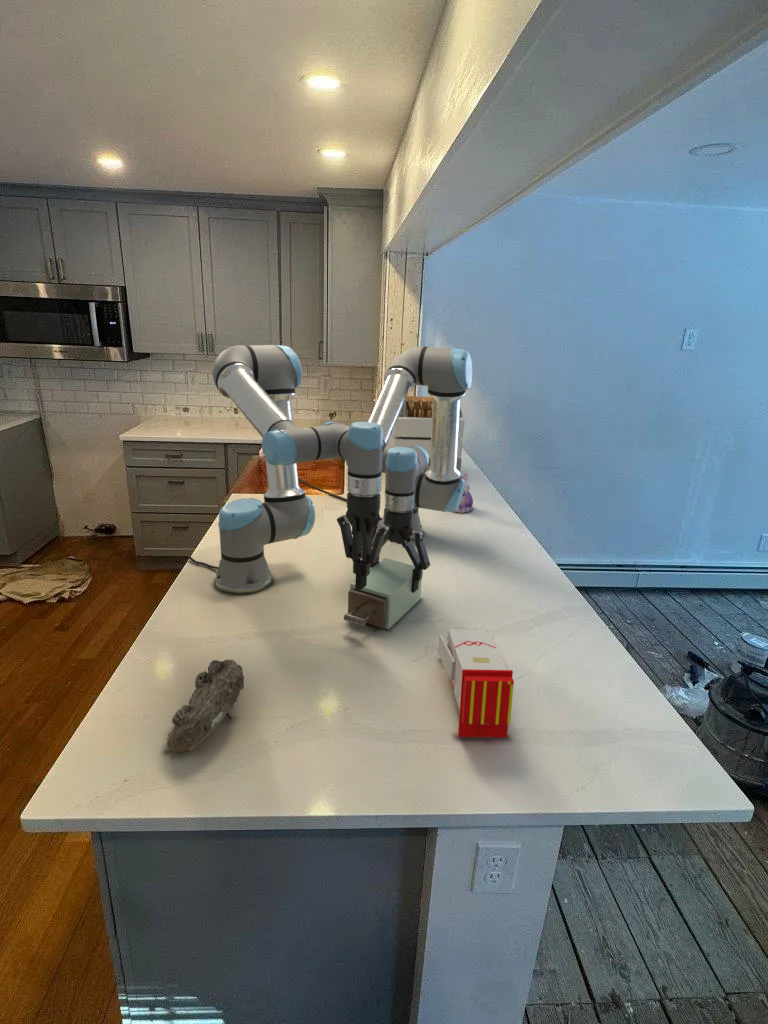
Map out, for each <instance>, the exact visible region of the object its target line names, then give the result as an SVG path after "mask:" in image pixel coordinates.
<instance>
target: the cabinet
mask: <svg viewBox="0 0 768 1024" xmlns="http://www.w3.org/2000/svg"><path fill="white" fill-rule="evenodd" d="M414 568H415V566H414V565H413V564H410V563H406V562H401V561H399V560H393V559H390V558H386V557H384V558H383V559H382V560H379V563H378V564H376V565H375V566H374V567H372V568H370V574H369V575H368V576H367V585H366V586H365V587H364V588H363V589H361V591H365V592H368V593H371V594H375V595H378V596H381V597H385V598H386V600H387V603H386V624H385V627H384V628H383V629H386V630H390V629H391V628H392V627H393V626H394V625H395V624H396V623H397V622H398V621H399V620H401V618H402V617H403V616H404V615H405V614H407V612H408V611H409V610H411V609H412V608H413V607H414V606H415V605H416V604H417V603H418V602H419V601H420V600H421V592H422V579H421V580H420V581H419V585H418V590H416V591H415V592H414V593H412V592H411V589H412V574H413V569H414ZM355 582H356V579H354V580H353V581H351V582H350V584H349V590H350V589H353V590H356V591H357V589H356V588H355ZM358 590H359V589H358Z"/></svg>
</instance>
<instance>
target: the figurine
mask: <svg viewBox="0 0 768 1024" xmlns="http://www.w3.org/2000/svg"><path fill="white" fill-rule="evenodd" d="M460 479H463V480H465V487H464V492H463V496H462V499H461V502H460V505H459V507H458V509H457V511H455V512H454V513H462V514H463V513H468V512H470V511H471V510H472V509H473V505H474V499H473V496H472V494H471V492H470V489H471V487H470V484H469V482H468V479H469V473H468V472H465V473H464V474H463V476H462V474H460Z"/></svg>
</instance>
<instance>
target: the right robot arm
mask: <svg viewBox="0 0 768 1024" xmlns="http://www.w3.org/2000/svg"><path fill="white" fill-rule="evenodd" d="M383 379H384V385H383V387H382V389H381V391H380V393H379V396H378V398H377V400H376V403H375V405H374V406H373V410H372V412H371V414H370V416H369V418H368V421H367V422H371V423H377V424H379V425H381V427H382V429H383V443H384V445H383V455H382V471H381V474H385V482H384V483H385V484H384V502H383V503H384V504H383V506H384V508H383V515H382V517H381V522H382V523H383V524H384V525H385V526H386V525H389V527H390V529H389V530H388V532H387V533H386V534H385V538H384V541H383V545H382V548H383V547H384V546H385V545H386V544H387V543H388V542H389V543H396V544H397V545H401V546H402V548H403V549H405V551H406V553H407V556H408V557H409V559H410V561H411V562H412V565H413V566H415V568H414V569H413V574H412V589H411V592H412V593H414V592H415V591H416V590H418V585H419V581H420V580H421V581H422V579H423V572H424V571H426V570H427V569H428V568H429V567H431V561H430V558H429V555H428V551H427V547H426V544H425V541H424V531H423V525H422V524H421V518H420V515H419V509H424V510H431V511H435V512H436V511H437V512H442V513H445V512H446V513H456V512H455V511H457V509H458V507H459V505H460V502H461V499H462V496H463V492H464V487H465V480H463V479H460V475H461V474H460V472H459V471H458V470H457V469H456V461H457V444H458V427H459V410H460V408H461V399H462V398H464V396H465V395H466V391H467V390H469V389H470V388H471V386H472V383H473V361H472V357H471V355H470V353H469V351H467V350H466V349H461V348H457V347H445V346H444V347H443V346H425V345H418V346H413V347H411V348H409V349H407V350H405V351H403V352H402V353H400V354H399V355H398V356H397V357H395V359H394V360H393V361H392V362H391V363H390V364H389V366H388V367H387V369H386V371H385V374H384V377H383ZM416 386H423V387H427V394H428V395H429V397H432V398H433V401H432V429H431V457H430V466H429V465H428V464H429V455H428V453H427V451H426V450H425V449H424V448H422V447H421V446H410V447H396V446H388V445H387V443H388V441H389V438H390V436H391V434H392V431H393V429H394V426H395V424H396V421H397V419H398V416H399V414H400V412H401V409H402V407H403V404H404V402H405V399H406V397H407V396H409V393H411V392H412V391H413V390H414V388H415V387H416ZM345 465H346V466H347V467H348V461H345ZM428 467H429V468H428ZM427 468H428V469H427ZM424 472H425V473H424ZM298 482H300V483H302V484H303V485H305V486H308V487H309V488H311V489H313V490H316V491H319V492H320V493H323V494H326V495H328V496H332V497H334V498H337V499H339V500H343V501H345V502H347V497H343V496H340V495H337V494H334V493H331V492H329V491H327V490H325V489H322V488H318V487H317V486H314V485H312V484H310V483H308V482H306V481H304V480H303V479H301V478H299V477H298ZM377 533H378V532H377V526H376V527H375V529H374V531H373V535H372V547H373V544H374V540H375V537H376V534H377ZM413 540H414V543H413ZM414 544H415V545H414ZM415 547H416V548H415ZM379 562H380V557H379V558H378V560H377V561H376V562H374V563H373V564H370V569H371V568H372V567H374V566H375V565H376V564H378V563H379Z"/></svg>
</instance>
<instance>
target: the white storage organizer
mask: <svg viewBox="0 0 768 1024" xmlns="http://www.w3.org/2000/svg"><path fill="white" fill-rule="evenodd" d="M432 401H433V398H432V397H431V396H415V395H414V396H413V395H412V396H411V395H407V397H406V399H405V402H404V404H403V407H402V409H401V412H400V414H399V416H398V419H397V421H396V424H395V426H394V429H393V431H392V434H391V436H390V438H389V441H388V443H387V445H388V446H396V447H410V446H421V447H422V448H424V449H425V450H426V451H427V453H428V455H429V464H428V467H430V457H431V429H432ZM464 429H465V419H464V418H463V411H462V408H461V407H460V410H459V427H458V444H457V461H456V469H457V470H458V471H459V472H460V475H462V474H461V472H462V461H463V460H462V453H463V442H464V441H463V440H462V439H463V438H464V431H465V430H464Z"/></svg>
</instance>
